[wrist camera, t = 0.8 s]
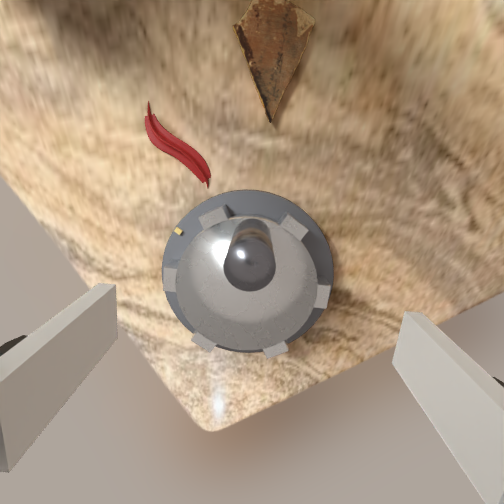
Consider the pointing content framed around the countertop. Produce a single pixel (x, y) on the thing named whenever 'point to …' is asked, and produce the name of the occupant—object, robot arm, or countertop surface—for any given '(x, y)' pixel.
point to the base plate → (250, 204)
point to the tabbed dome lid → (246, 281)
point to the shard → (273, 46)
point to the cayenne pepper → (176, 147)
